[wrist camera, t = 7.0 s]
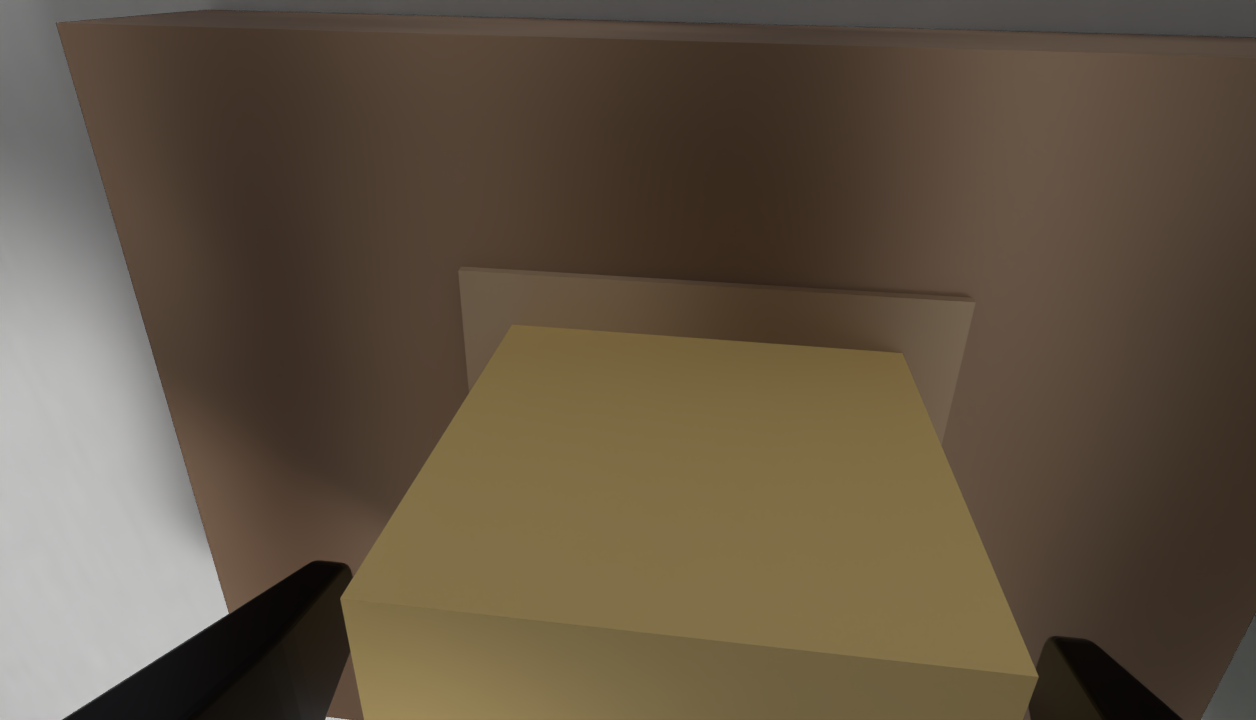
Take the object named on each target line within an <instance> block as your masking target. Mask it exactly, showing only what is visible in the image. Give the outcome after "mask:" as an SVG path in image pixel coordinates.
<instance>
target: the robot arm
mask: <svg viewBox="0 0 1256 720" xmlns="http://www.w3.org/2000/svg"><path fill="white" fill-rule="evenodd" d="M352 579H353V575H352V571H351V569H350V567H349V566H348V565H347V564H345V563H342V562H333V561H323V560H316V561H312V562H310V563H308V564H307V565H305V566H303V567H302V568H300V569H299V570H297V571H296V572H294V573H292V574H291V575H289V576H288V577H286V578H285V579H283V580H281V581H280V582H278V583H277V584H275V585H274V586H272V587H270V588H269V589H267V590H266V591H264V592H263V593H261V594H259V595H258V596H256V597H255V598H253V599H251V600H250V601H248V602H247V603H245V604H244V605H242V606H240V607H239V608H237V609H236V610H234V611H233V612H231V613H229V614H228V615H226V616H225V617H223V618H222V619H220V620H218V621H217V622H215V623H214V624H212V625H211V626H209V627H207V628H206V629H204V630H203V631H201V632H199V633H198V634H196V635H195V636H193V637H192V638H190V639H188V640H187V641H185V642H184V643H182V644H181V645H179V646H177V647H176V648H174V649H173V650H171V651H170V652H168V653H166V654H165V655H163V656H162V657H160V658H159V659H157V660H155V661H154V662H152V663H151V664H149V665H148V666H146V667H144V668H143V669H141V670H140V671H138V672H136V673H135V674H133V675H132V676H130V677H129V678H127V679H125V680H124V681H122V682H121V683H119V684H118V685H116V686H114V687H113V688H111V689H110V690H108V691H107V692H105V693H103V694H102V695H100V696H99V697H97V698H96V699H94V700H92V701H91V702H89V703H88V704H86V705H84V706H83V707H81V708H80V709H78V710H77V711H75V712H73V713H72V714H70V715H69V716H67V717H66V718H64V719H62V720H325V719H326V716H327V713H328V711H329V708H330V705H331V703H332V700H333V697H334V695H335V692H336V689H337V686H338V684H339V681H340V678H341V676H342V673H343V670H344V668H345V665H346V662H347V660H348V657H349V654H350V652H351V651H350V646H349V641H348V636H347V631H346V625H345V620H344V615H343V610H342V605H341V600H340V598H341V596H342V595H343V593H344V591H345V590H346V588H347V587H348V585H349V583H350V582H351V580H352ZM1035 669H1036V671H1037V674H1038V676H1039V678H1038V680H1037V683H1036V686H1035V688H1034V691H1033V694H1032V697H1031V699H1030V702H1029V705H1028V708H1029V714H1030V718H1031V720H1184V719H1182V718H1181V717H1180V716H1179V715H1178V714H1177V713H1176V712H1174V711H1173V710H1172V709H1171V708H1170V707H1169V706H1167V705H1166V704H1165V703H1164V702H1163V701H1162V700H1160V699H1159V698H1158V697H1157V696H1156V695H1155V694H1154V693H1152V692H1151V691H1150V690H1149V689H1148V688H1147V687H1145V686H1144V685H1143V684H1142V683H1141V682H1140V681H1139V680H1137V679H1136V678H1135V677H1134V676H1133V675H1132V674H1130V673H1129V672H1128V671H1127V670H1126V669H1125V668H1124V667H1122V666H1121V665H1120V664H1119V663H1118V662H1117V661H1115V660H1114V659H1113V658H1112V657H1111V656H1110V655H1108V654H1107V653H1106V652H1105V651H1104V650H1103V649H1102V648H1100V647H1099V646H1098V645H1097V644H1095V643H1094V642H1092V641H1090V640H1088V639H1084V638H1075V637H1065V636H1051V637H1049V638H1048V639H1047V640H1046V642H1045V643H1044V645H1043V648H1042V651H1041V654H1040V656H1039V659H1038V662H1037V665H1036V668H1035Z"/></svg>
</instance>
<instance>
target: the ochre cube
mask: <svg viewBox="0 0 1256 720" xmlns="http://www.w3.org/2000/svg"><path fill="white" fill-rule="evenodd" d="M340 600H341V605H342V610H343V615H344V620H345V625H346V631H347V636H348V641H349V646H350V651H351V656H352V661H353V666H354V671H355V676H356V681H357V686H358V691H359V697H360V702H361V707H362V712H363V717H364V720H1023V718H1024V715H1025V713H1026V710H1027V707H1028V705H1029V702H1030V699H1031V697H1032V694H1033V691H1034V688H1035V686H1036V683H1037V680H1038V678H1039V676H1038V674H1037V671H1036V669H1035V667H1034V664H1033V662H1032V660H1031V657H1030V655H1029V652H1028V650H1027V648H1026V645H1025V643H1024V641H1023V638H1022V636H1021V633H1020V631H1019V629H1018V626H1017V624H1016V622H1015V619H1014V617H1013V614H1012V612H1011V610H1010V607H1009V605H1008V603H1007V600H1006V598H1005V595H1004V593H1003V591H1002V588H1001V586H1000V584H999V581H998V579H997V577H996V574H995V572H994V569H993V567H992V565H991V562H990V560H989V558H988V555H987V553H986V550H985V548H984V546H983V543H982V541H981V539H980V536H979V534H978V531H977V529H976V527H975V524H974V522H973V520H972V517H971V515H970V512H969V510H968V508H967V505H966V503H965V501H964V498H963V496H962V493H961V491H960V489H959V486H958V484H957V482H956V479H955V477H954V474H953V472H952V470H951V467H950V465H949V463H948V460H947V458H946V455H945V453H944V451H943V448H942V446H941V444H940V441H939V439H938V437H937V434H936V432H935V429H934V427H933V425H932V422H931V420H930V418H929V415H928V413H927V410H926V408H925V406H924V403H923V401H922V399H921V396H920V394H919V391H918V389H917V387H916V384H915V382H914V380H913V377H912V375H911V372H910V370H909V368H908V365H907V363H906V361H905V358H904V356H903V353H895V352H881V351H867V350H853V349H840V348H826V347H812V346H799V345H785V344H771V343H758V342H744V341H730V340H717V339H703V338H689V337H675V336H662V335H648V334H634V333H621V332H607V331H593V330H580V329H566V328H552V327H538V326H525V325H512V326H511V327H510V329H509V330H508V332H507V334H506V335H505V337H504V338H503V340H502V342H501V343H500V345H499V346H498V348H497V349H496V351H495V353H494V354H493V356H492V357H491V359H490V361H489V362H488V364H487V365H486V367H485V369H484V370H483V372H482V373H481V375H480V377H479V378H478V380H477V381H476V383H475V384H474V386H473V388H472V389H471V391H470V392H469V394H468V396H467V397H466V399H465V400H464V402H463V404H462V405H461V407H460V408H459V410H458V412H457V413H456V415H455V416H454V418H453V419H452V421H451V423H450V424H449V426H448V427H447V429H446V431H445V432H444V434H443V435H442V437H441V439H440V440H439V442H438V443H437V445H436V447H435V448H434V450H433V451H432V453H431V454H430V456H429V458H428V459H427V461H426V462H425V464H424V466H423V467H422V469H421V470H420V472H419V474H418V475H417V477H416V478H415V480H414V482H413V483H412V485H411V486H410V488H409V489H408V491H407V493H406V494H405V496H404V497H403V499H402V501H401V502H400V504H399V505H398V507H397V509H396V510H395V512H394V513H393V515H392V517H391V518H390V520H389V521H388V523H387V525H386V526H385V528H384V529H383V531H382V532H381V534H380V536H379V537H378V539H377V540H376V542H375V544H374V545H373V547H372V548H371V550H370V552H369V553H368V555H367V556H366V558H365V560H364V561H363V563H362V564H361V566H360V567H359V569H358V571H357V572H356V574H355V575H354V577H353V579H352V580H351V582H350V583H349V585H348V587H347V588H346V590H345V591H344V593H343V595H342V596H341V598H340Z"/></svg>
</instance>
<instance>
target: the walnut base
mask: <svg viewBox="0 0 1256 720" xmlns="http://www.w3.org/2000/svg"><path fill="white" fill-rule="evenodd" d="M56 25H57V28H58V32H59V35H60V39H61V42H62V45H63V49H64V52H65V56H66V59H67V62H68V66H69V69H70V73H71V76H72V80H73V83H74V86H75V90H76V93H77V97H78V100H79V103H80V107H81V110H82V114H83V117H84V120H85V124H86V127H87V131H88V134H89V138H90V141H91V144H92V148H93V151H94V155H95V158H96V161H97V165H98V168H99V172H100V175H101V178H102V182H103V185H104V189H105V192H106V196H107V199H108V202H109V206H110V209H111V213H112V216H113V219H114V223H115V226H116V230H117V233H118V236H119V240H120V243H121V247H122V250H123V254H124V257H125V260H126V264H127V267H128V271H129V274H130V277H131V281H132V284H133V288H134V291H135V294H136V298H137V301H138V305H139V308H140V312H141V315H142V318H143V322H144V325H145V329H146V332H147V335H148V339H149V342H150V346H151V349H152V352H153V356H154V359H155V363H156V366H157V370H158V373H159V376H160V380H161V383H162V387H163V390H164V393H165V397H166V400H167V404H168V407H169V410H170V414H171V417H172V421H173V424H174V428H175V431H176V434H177V438H178V441H179V445H180V448H181V451H182V455H183V458H184V462H185V465H186V468H187V472H188V475H189V479H190V482H191V486H192V489H193V492H194V496H195V499H196V503H197V506H198V509H199V513H200V516H201V520H202V523H203V526H204V530H205V533H206V537H207V540H208V543H209V547H210V550H211V554H212V557H213V561H214V564H215V567H216V571H217V574H218V578H219V581H220V584H221V588H222V591H223V595H224V598H225V601H226V605H227V608H228V612H229V613H231V612H233V611H234V610H236V609H237V608H239V607H240V606H242V605H244V604H245V603H247V602H248V601H250V600H251V599H253V598H255V597H256V596H258V595H259V594H261V593H263V592H264V591H266V590H267V589H269V588H270V587H272V586H274V585H275V584H277V583H278V582H280V581H281V580H283V579H285V578H286V577H288V576H289V575H291V574H292V573H294V572H296V571H297V570H299V569H300V568H302V567H303V566H305V565H307V564H308V563H310V562H312V561H316V560H323V561H333V562H342V563H345V564H347V565H348V566H349V567H350V569H351V571H352V575H353V577H354V575H355V574H356V572H357V571H358V569H359V567H360V566H361V564H362V563H363V561H364V560H365V558H366V556H367V555H368V553H369V552H370V550H371V548H372V547H373V545H374V544H375V542H376V540H377V539H378V537H379V536H380V534H381V532H382V531H383V529H384V528H385V526H386V525H387V523H388V521H389V520H390V518H391V517H392V515H393V513H394V512H395V510H396V509H397V507H398V505H399V504H400V502H401V501H402V499H403V497H404V496H405V494H406V493H407V491H408V489H409V488H410V486H411V485H412V483H413V482H414V480H415V478H416V477H417V475H418V474H419V472H420V470H421V469H422V467H423V466H424V464H425V462H426V461H427V459H428V458H429V456H430V454H431V453H432V451H433V450H434V448H435V447H436V445H437V443H438V442H439V440H440V439H441V437H442V435H443V434H444V432H445V431H446V429H447V427H448V426H449V424H450V423H451V421H452V419H453V418H454V416H455V415H456V413H457V412H458V410H459V408H460V407H461V405H462V404H463V402H464V400H465V399H466V397H467V396H468V394H469V392H470V391H471V389H472V388H473V386H474V384H475V383H476V381H477V380H478V378H479V377H480V375H481V373H482V372H483V370H484V369H485V367H486V365H487V364H488V362H489V361H490V359H491V357H492V356H493V354H494V353H495V351H496V349H497V348H498V346H499V345H500V343H501V342H502V340H503V338H504V337H505V335H506V334H507V332H508V330H509V329H510V327H511V326H512V325H525V326H538V327H552V328H566V329H580V330H593V331H607V332H621V333H634V334H648V335H662V336H675V337H689V338H703V339H717V340H730V341H744V342H758V343H771V344H785V345H799V346H812V347H826V348H840V349H853V350H867V351H881V352H895V353H903V356H904V358H905V361H906V363H907V365H908V368H909V370H910V372H911V375H912V377H913V380H914V382H915V384H916V387H917V389H918V391H919V394H920V396H921V399H922V401H923V403H924V406H925V408H926V410H927V413H928V415H929V418H930V420H931V422H932V425H933V427H934V429H935V432H936V434H937V437H938V439H939V441H940V444H941V446H942V448H943V451H944V453H945V455H946V458H947V460H948V463H949V465H950V467H951V470H952V472H953V474H954V477H955V479H956V482H957V484H958V486H959V489H960V491H961V493H962V496H963V498H964V501H965V503H966V505H967V508H968V510H969V512H970V515H971V517H972V520H973V522H974V524H975V527H976V529H977V531H978V534H979V536H980V539H981V541H982V543H983V546H984V548H985V550H986V553H987V555H988V558H989V560H990V562H991V565H992V567H993V569H994V572H995V574H996V577H997V579H998V581H999V584H1000V586H1001V588H1002V591H1003V593H1004V595H1005V598H1006V600H1007V603H1008V605H1009V607H1010V610H1011V612H1012V614H1013V617H1014V619H1015V622H1016V624H1017V626H1018V629H1019V631H1020V633H1021V636H1022V638H1023V641H1024V643H1025V645H1026V648H1027V650H1028V652H1029V655H1030V657H1031V660H1032V662H1033V664H1034V667H1035V668H1036V665H1037V662H1038V659H1039V656H1040V654H1041V651H1042V648H1043V645H1044V643H1045V642H1046V640H1047V639H1048V638H1049V637H1051V636H1065V637H1075V638H1084V639H1088V640H1090V641H1092V642H1094V643H1095V644H1097V645H1098V646H1099V647H1100V648H1102V649H1103V650H1104V651H1105V652H1106V653H1107V654H1108V655H1110V656H1111V657H1112V658H1113V659H1114V660H1115V661H1117V662H1118V663H1119V664H1120V665H1121V666H1122V667H1124V668H1125V669H1126V670H1127V671H1128V672H1129V673H1130V674H1132V675H1133V676H1134V677H1135V678H1136V679H1137V680H1139V681H1140V682H1141V683H1142V684H1143V685H1144V686H1145V687H1147V688H1148V689H1149V690H1150V691H1151V692H1152V693H1154V694H1155V695H1156V696H1157V697H1158V698H1159V699H1160V700H1162V701H1163V702H1164V703H1165V704H1166V705H1167V706H1169V707H1170V708H1171V709H1172V710H1173V711H1174V712H1176V713H1177V714H1178V715H1179V716H1180V717H1181V718H1182V719H1184V720H1201V718H1202V716H1203V714H1204V712H1205V710H1206V708H1207V706H1208V704H1209V702H1210V700H1211V698H1212V696H1213V694H1214V693H1215V691H1216V689H1217V687H1218V685H1219V683H1220V681H1221V679H1222V677H1223V675H1224V673H1225V671H1226V669H1227V667H1228V665H1229V664H1230V662H1231V660H1232V658H1233V656H1234V654H1235V652H1236V650H1237V648H1238V646H1239V644H1240V642H1241V640H1242V638H1243V637H1244V635H1245V633H1246V631H1247V629H1248V627H1249V625H1250V623H1251V621H1252V619H1253V617H1254V615H1255V613H1256V38H1254V37H1216V36H1178V35H1141V34H1103V33H1065V32H1027V31H989V30H951V29H913V28H876V27H838V26H800V25H762V24H724V23H686V22H648V21H611V20H573V19H535V18H497V17H459V16H421V15H384V14H346V13H308V12H270V11H232V10H199V11H187V12H176V13H164V14H152V15H140V16H129V17H117V18H105V19H94V20H82V21H70V22H59V23H56ZM326 717H334V718H341V719H349V720H364V717H363V712H362V707H361V702H360V697H359V691H358V686H357V681H356V676H355V671H354V666H353V661H352V656H351V652H350V654H349V657H348V660H347V662H346V665H345V668H344V670H343V673H342V676H341V678H340V681H339V684H338V686H337V689H336V692H335V695H334V697H333V700H332V703H331V705H330V708H329V711H328V713H327V716H326ZM1023 720H1031V718H1030V714H1029V708H1028V707H1027V710H1026V713H1025V715H1024V718H1023Z"/></svg>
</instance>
